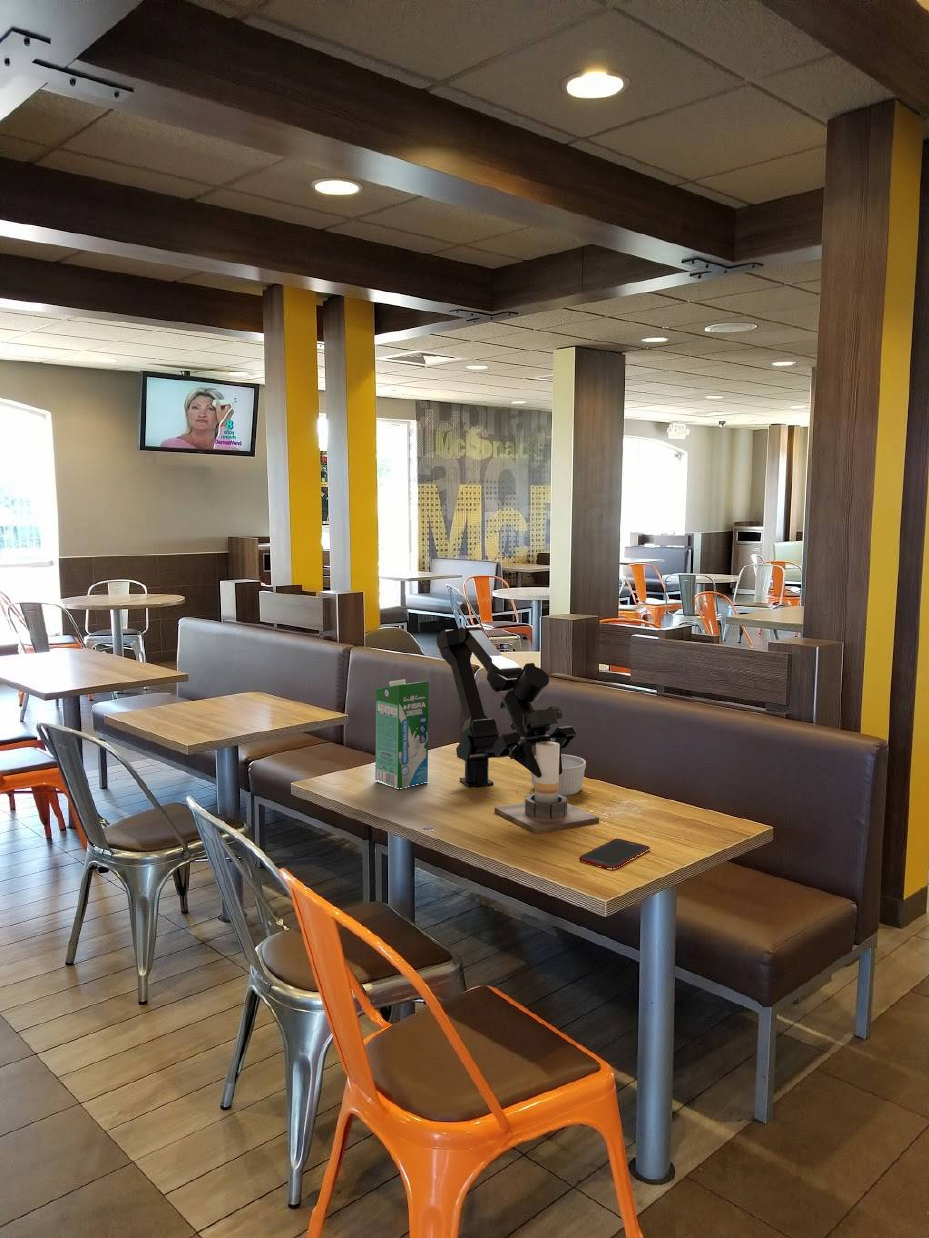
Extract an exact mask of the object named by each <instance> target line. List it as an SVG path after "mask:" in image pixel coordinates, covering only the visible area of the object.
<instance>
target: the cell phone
mask: <svg viewBox="0 0 929 1238" xmlns="http://www.w3.org/2000/svg"><path fill="white" fill-rule="evenodd" d="M648 849H651V847H650V846H649V845H646V844H641V843H638V842H635V841H631V840H626V839H623V838H614V839H611V840H610V841H608V842H606V843H604V844H601V845H599V846H598V847H596V848H594V849H592V850H590V851H588V852H586V853H584V854H582V855H580V856H579V858H578V861H579V860H580V861H583V862H586V863H585V864H588V863H590V864H596V865H598V866H601V867H604V868H606V869H607V868H612V869H613V868H617V867H619V866H621V865H623V864H624V863H626V862H627V861H629V860H630V859H632V858H635V857H636V856H637V855H640V854H641V853H643V852H645V851H646V850H648ZM580 861H579V862H580ZM583 862H582V863H583ZM590 864H589V865H590ZM623 866H624V865H623ZM601 867H600V868H601Z"/></svg>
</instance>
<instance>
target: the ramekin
mask: <svg viewBox="0 0 929 1238" xmlns="http://www.w3.org/2000/svg"><path fill="white" fill-rule="evenodd" d="M534 757H535V759H536V755H534ZM561 759H562V774H561V775H559V790H558V794H559V795H562V796H571V795H575V794H577V793H579V792H580V790H582V787H583V782H584V777H585V770H586V768H587V761H586V760H585V759H584V758H582V757H579V756H575V755H571V754H564V753H563V754H562V753H561ZM530 776H531V784H532V787H533V788H534V789H535V775H534V774H533V773H532V772H530Z"/></svg>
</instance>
